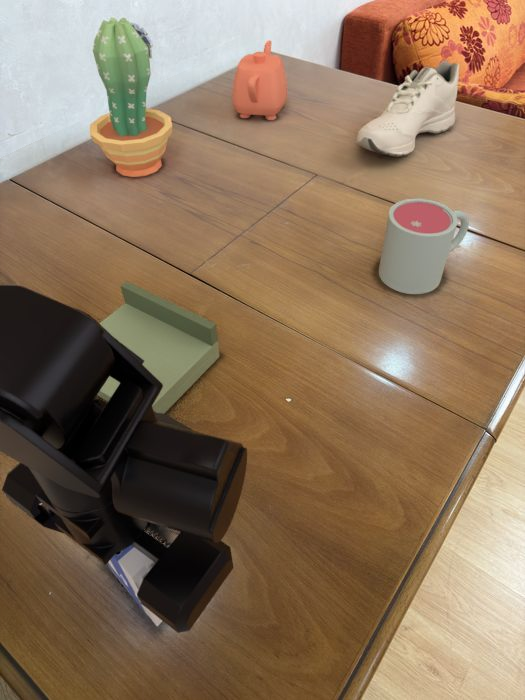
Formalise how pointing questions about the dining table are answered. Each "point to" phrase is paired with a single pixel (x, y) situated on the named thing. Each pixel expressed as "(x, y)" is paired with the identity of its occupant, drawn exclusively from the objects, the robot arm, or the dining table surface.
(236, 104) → the teapot
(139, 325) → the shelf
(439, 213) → the mug
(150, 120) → the potted cactus
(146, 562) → the walkman
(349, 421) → the dining table surface
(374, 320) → the dining table surface
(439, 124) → the running shoe
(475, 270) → the dining table surface
